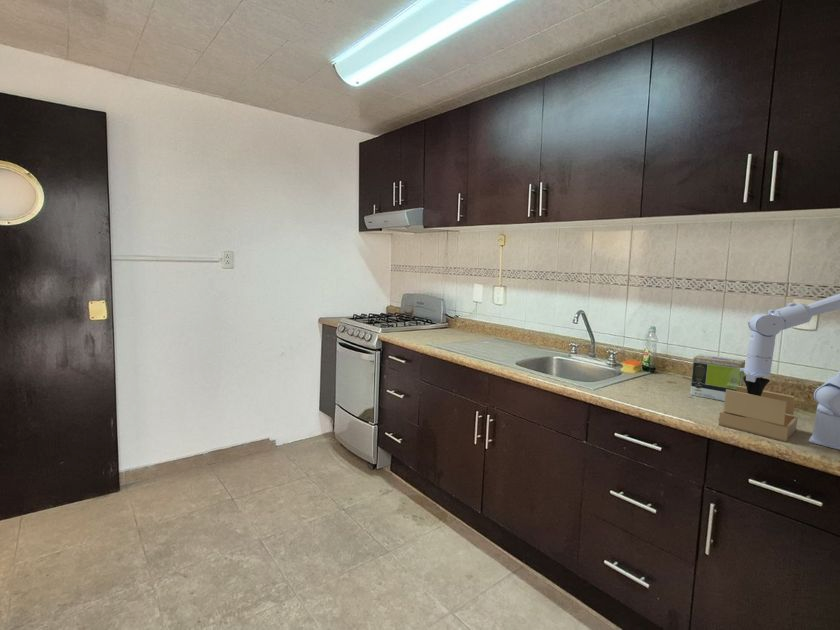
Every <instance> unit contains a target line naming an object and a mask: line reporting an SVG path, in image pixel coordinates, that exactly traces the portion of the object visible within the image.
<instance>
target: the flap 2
mask: <svg viewBox="0 0 840 630" xmlns="http://www.w3.org/2000/svg"><path fill="white" fill-rule="evenodd" d="M737 392H742V393H747V387H746V386H743V387H742V386H737ZM747 394H748V393H747ZM761 396H762V397H767V398H772V399H777V400H782V401H787V402H786V411H785V415H790V416H794V412H795V396H793V395H787V394H782V393H779V392H773V391H767V390H763V392H762V394H761Z"/></svg>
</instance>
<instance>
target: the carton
mask: <svg viewBox="0 0 840 630" xmlns="http://www.w3.org/2000/svg"><path fill="white" fill-rule="evenodd" d="M718 417H719V418H718V426H720V427H724V428H728V429H732V430H736V431H739V432H744V433H747V434H752V435H755V436H759V437H764V438H767V439H772V440H775V441H780V442H783V443H787V442H788V441H789V439H791V437H792V436H793V435H794V433H795V432H796V431H797V426H798V425H797V424H798V419H799V418H798V417H797V416H794V415H791V414H785V420H784V425H780V424H776V423H772V422H767V421H763V420H759V419H754V418H750V417H746V416H742V415H737V414H733V413H729V412H724V409H723V410H721V411H720V412H719V416H718Z"/></svg>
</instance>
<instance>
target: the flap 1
mask: <svg viewBox="0 0 840 630" xmlns="http://www.w3.org/2000/svg"><path fill="white" fill-rule="evenodd" d="M786 402H787V401H782V400H777V399H772V398H767V397H762V396H757V395H752V394H747V393H742V392H737V391H732V390H727V389H726V394H725V401H724V409H723V410H724V412H729V413H733V414H737V415H742V416H746V417H750V418H754V419H759V420H763V421H767V422H772V423H776V424H780V425H784V420H785V415H786V413H785V411H786Z"/></svg>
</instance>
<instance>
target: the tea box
mask: <svg viewBox="0 0 840 630" xmlns="http://www.w3.org/2000/svg"><path fill="white" fill-rule="evenodd" d="M740 368H746V360H744V359H739V358H730V357H723V356H714V355H705V354H697V355H696V356H694V357H693V362H692V372H691V373H692V374H691V384H690V396H695V397H701V398H705V399H706V398H707V399H711V400H716V401H723V402H725V394H726V389H727V390H732V391H737V386H742V387H744V379H743V377H744V376H745V372H743V371H740Z"/></svg>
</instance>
